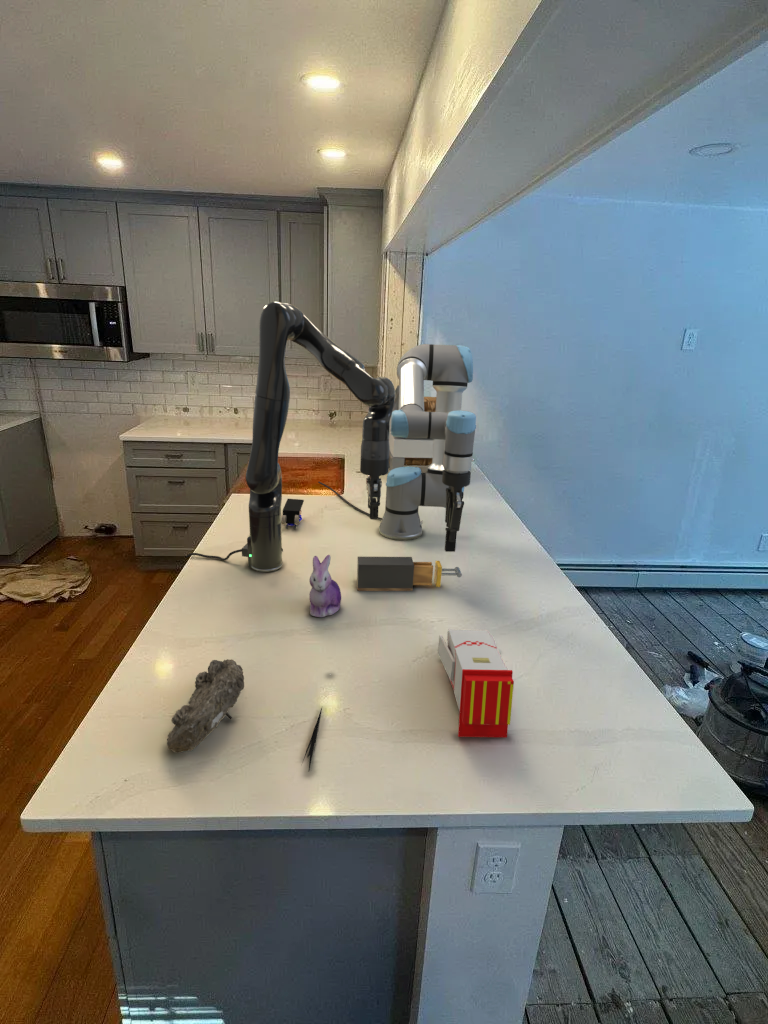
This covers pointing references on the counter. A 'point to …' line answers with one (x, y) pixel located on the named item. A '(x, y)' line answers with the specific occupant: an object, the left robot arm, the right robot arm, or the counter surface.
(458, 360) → the right robot arm
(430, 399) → the transformer
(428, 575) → the drawer
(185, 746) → the fossil
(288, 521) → the figurine character
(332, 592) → the figurine
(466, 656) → the toy
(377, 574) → the dark grey box
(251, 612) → the counter surface
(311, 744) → the feather
